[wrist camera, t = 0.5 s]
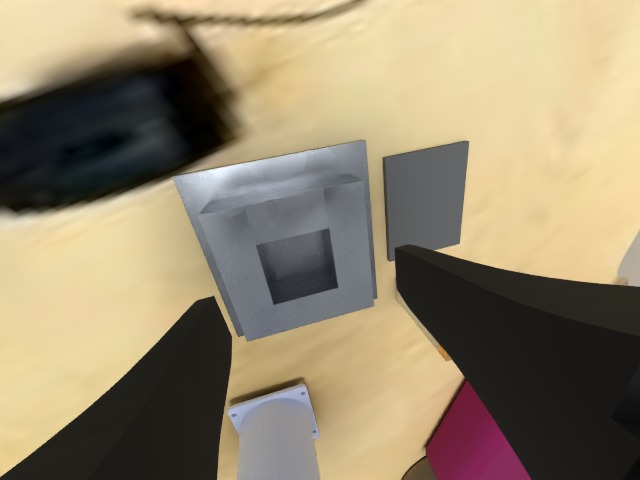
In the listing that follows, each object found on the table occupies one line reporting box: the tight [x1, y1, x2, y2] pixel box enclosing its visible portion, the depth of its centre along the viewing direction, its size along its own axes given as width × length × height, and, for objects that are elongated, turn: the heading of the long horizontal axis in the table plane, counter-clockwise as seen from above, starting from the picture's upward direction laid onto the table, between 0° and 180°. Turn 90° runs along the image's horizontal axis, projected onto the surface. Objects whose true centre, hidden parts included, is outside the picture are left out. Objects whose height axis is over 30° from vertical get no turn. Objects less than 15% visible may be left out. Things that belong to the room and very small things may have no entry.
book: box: [426, 380, 531, 480], centre depth 33 cm, size 21×28×8 cm
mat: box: [383, 141, 469, 262], centre depth 21 cm, size 9×7×1 cm
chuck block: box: [173, 140, 377, 342], centre depth 19 cm, size 14×13×4 cm
